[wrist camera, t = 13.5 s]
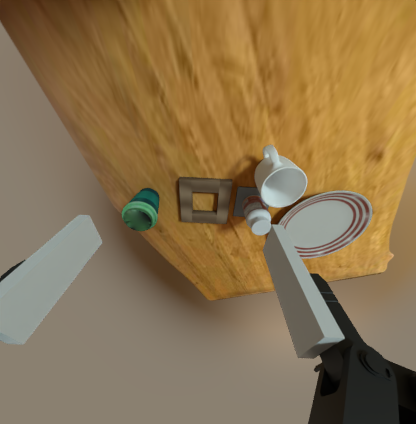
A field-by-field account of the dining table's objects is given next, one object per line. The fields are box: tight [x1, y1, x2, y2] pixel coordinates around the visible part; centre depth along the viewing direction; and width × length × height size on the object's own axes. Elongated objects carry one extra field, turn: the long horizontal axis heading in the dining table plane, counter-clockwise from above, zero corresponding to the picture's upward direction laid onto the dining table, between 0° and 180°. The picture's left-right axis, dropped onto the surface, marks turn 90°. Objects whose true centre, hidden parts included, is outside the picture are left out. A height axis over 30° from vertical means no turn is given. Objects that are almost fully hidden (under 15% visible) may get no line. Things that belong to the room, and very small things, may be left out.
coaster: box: [233, 187, 269, 217], centre depth 47 cm, size 10×10×1 cm
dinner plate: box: [278, 191, 372, 258], centre depth 50 cm, size 28×27×3 cm
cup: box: [122, 188, 159, 231], centre depth 42 cm, size 8×8×12 cm
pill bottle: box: [242, 195, 271, 235], centre depth 42 cm, size 6×6×11 cm
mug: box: [254, 145, 307, 207], centre depth 35 cm, size 12×9×12 cm
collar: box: [179, 177, 232, 224], centre depth 46 cm, size 14×14×2 cm
